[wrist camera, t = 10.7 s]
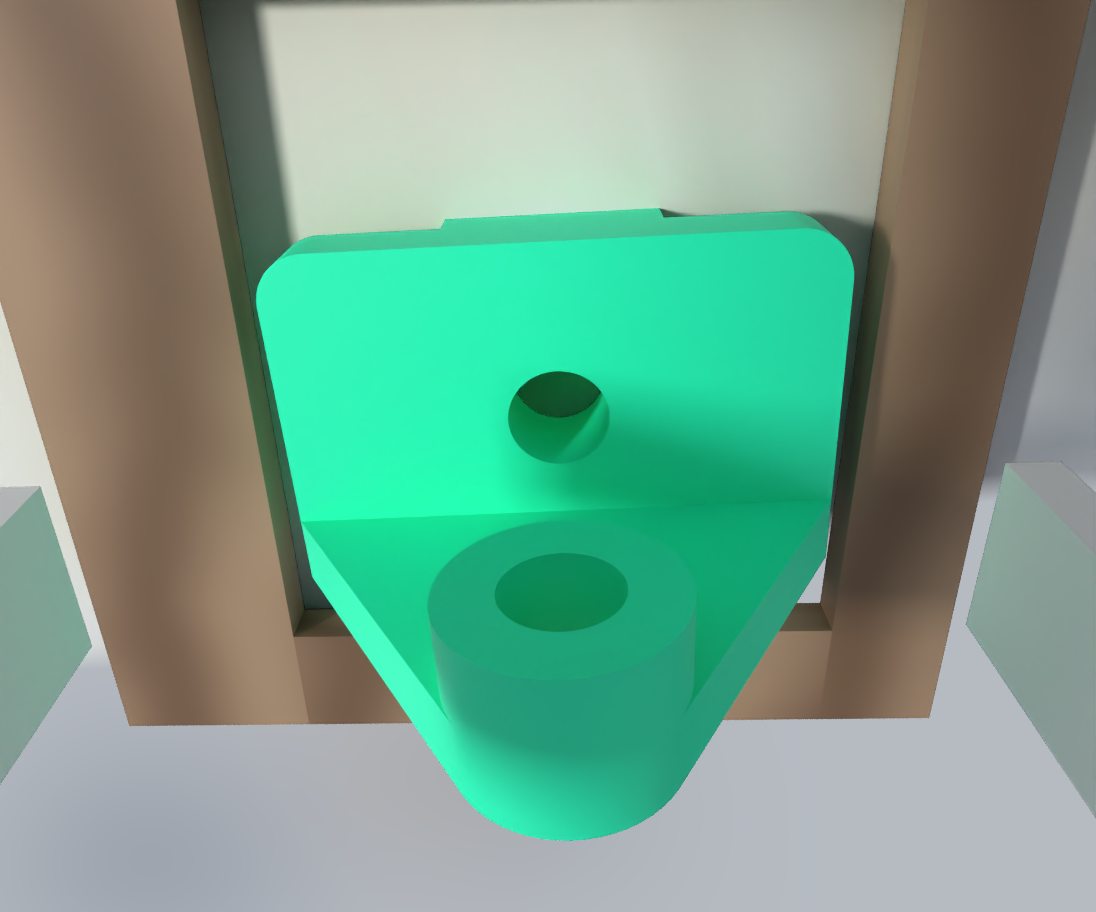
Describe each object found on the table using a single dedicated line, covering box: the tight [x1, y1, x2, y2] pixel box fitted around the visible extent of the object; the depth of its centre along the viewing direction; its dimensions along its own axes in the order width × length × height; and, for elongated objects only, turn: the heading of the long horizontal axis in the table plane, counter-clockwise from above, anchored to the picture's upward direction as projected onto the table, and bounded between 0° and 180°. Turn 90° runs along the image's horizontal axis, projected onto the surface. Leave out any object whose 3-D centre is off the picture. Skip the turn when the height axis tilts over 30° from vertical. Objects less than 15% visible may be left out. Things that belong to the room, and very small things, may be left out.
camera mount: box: [256, 208, 854, 841], centre depth 17 cm, size 12×8×10 cm, turn 93°
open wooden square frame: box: [0, 0, 1091, 726], centre depth 17 cm, size 22×21×10 cm
